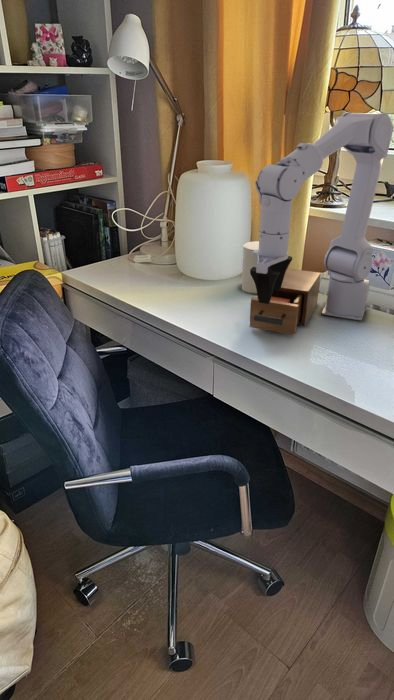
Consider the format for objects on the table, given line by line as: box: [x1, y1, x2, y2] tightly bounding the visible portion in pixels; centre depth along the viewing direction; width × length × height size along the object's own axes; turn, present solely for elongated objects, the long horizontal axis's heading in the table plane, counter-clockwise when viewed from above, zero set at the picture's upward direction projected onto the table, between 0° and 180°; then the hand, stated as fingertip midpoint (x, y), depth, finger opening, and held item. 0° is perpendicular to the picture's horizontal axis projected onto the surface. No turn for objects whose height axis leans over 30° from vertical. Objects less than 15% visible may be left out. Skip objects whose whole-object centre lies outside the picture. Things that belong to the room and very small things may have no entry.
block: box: [271, 297, 290, 303], centre depth 108 cm, size 4×4×4 cm
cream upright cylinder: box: [241, 240, 259, 295], centre depth 129 cm, size 8×8×12 cm
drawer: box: [249, 290, 305, 336], centre depth 108 cm, size 17×10×7 cm, turn 156°
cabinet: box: [280, 267, 321, 327], centre depth 116 cm, size 14×12×9 cm
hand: (269, 296), depth 99 cm, fingers open, 7 cm apart
